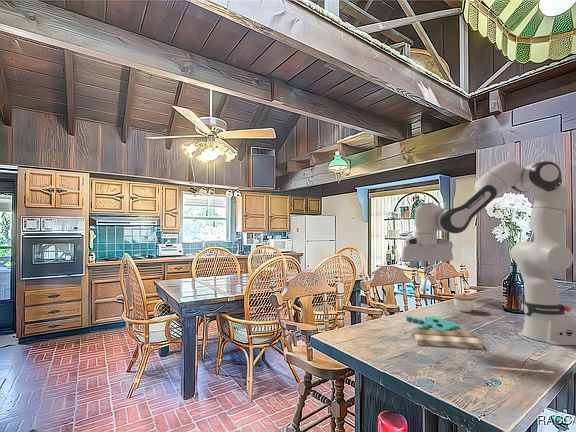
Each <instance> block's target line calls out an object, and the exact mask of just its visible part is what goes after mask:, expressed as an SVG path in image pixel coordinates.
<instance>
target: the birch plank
mask: <svg viewBox="0 0 576 432" xmlns="http://www.w3.org/2000/svg"><path fill="white" fill-rule="evenodd" d="M414 339H415V340H414V342H415V341H416V343H417V345H418V346H419V345H420V346H430V345H433V347H447V346H448V347H449V348H451V347H452V348H460V347H464V348H463V349H475V348H479V350H484V349H483V348H484V346H483V342H482V341H481V340H480V339H479V338H478V337H476V338H469V337H452V336H435V335H418V334H415V338H414Z"/></svg>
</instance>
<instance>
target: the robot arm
mask: <svg viewBox="0 0 576 432" xmlns="http://www.w3.org/2000/svg"><path fill="white" fill-rule="evenodd" d="M562 182H563V180H562V171H561V168H560V167H559V165H558V164H557V163H555V162H553V161H539V162H535V163H531V164H529V165H526V166H524V167H523V166H520V164H518V163H517V162H516V161H513V160H504V161H502V162H500V163H499V164H496V165H495V166H493V167H492V168H491V169H489V170H488V171H486V172H485V173H484V174H483V175H481V176H480V177H479V178H478V179H477V181H475V182H474V184H473V190H474V191H473V192H474V193H473V194H472V196H471V197H469V198H468V199H467V200H465V202H463V203H462V204H461V205H459V206H457V207H454V208H450V209H447V208H443V207H441V206H438V205H437V204H435V203H434V202H426V203H422V204H419V205H417V206H416V207H415V210H414V225H415V231H414V236H411V237H408V238H406V239H404V244H405V245H403V247H402V256H401V257H402V260H403V261H404V262H420V264H421V266H422V267H423V272H424V273H425V272H428V273H429V272H430V273H432V268H433V266H434V264H435V262H452V261H453V259H454V257H453V256H454V254H453V251H452V249H453V248H454V246H453V242H452V240H449V239H438V231H440V232H445V233H451V234H460V233H462V232H464V231H466V230H467V228H468V227H469V225H470V223H471V221H472V220H473V219H474V217H475V216H477V214H478V213H480V212H481V211H482V210H483V209H484V208H485V207H487V205H488V204H490V203H491V202H493V201H494V200H496V199H498V198H499V197H500V196H501V195H503V194H504V193H506V192H507V191H508V190H509V189H510V188H511V189H512V190H513V191H515V192H518V193H530V192H532V194H533V197H534V198H533V199H534V201H533V205H532V208H531V213H530V218H529V222H528V228H530V230H531V231H532V233H533V241H522V242H519V243H516V244H514V245H513V246H512V247H511V249H510V257H511V259H512V260H513V261H514V263H516V266H517V267H518V269H519V273H520V275H521V278H522V281H523V289H524V290H523V291H524V300H523V312H524V324H523V328H522V331H521V334H522V336H524V337H526V338H528V339H531V340H536V341H538V342H544V343H546V344H551V345H554V346H576V319H574V318H572V317H571V315H569V314H567V313H566V312H568V313H570V312H571V311H572V308H571V307H570V306H568V305H563V304H562V303H560V296H559V293H560V292H559V284H558V282H557V281H555V279H554V278H553V277H552V275H551V273H550V272H554V271H555V272H556V271H565V270H567V269H568V268H569V267H571V266H572V265H573V261H574V256H573V253H572V251H571V250H570V248H568V246H567V245H566V242H565V238H564V228H565V220H566V216H567V211H568V210H567V209H568V205H569V204H568V201H569V197H568V196H569V195H568V190H567V188H566V187H565V186H563V185H561V184H562ZM426 262H429V266H425V264H426Z"/></svg>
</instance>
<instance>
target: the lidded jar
mask: <svg viewBox="0 0 576 432" xmlns="http://www.w3.org/2000/svg"><path fill="white" fill-rule="evenodd" d="M452 296H453V303H454V306H455V307H456V309H457V310H458V311H459V312H462V313H464V312H465V313H471V312H472V311H473V310H474V309H475V308H476V302H477V297H476V296H475V295H471V294H466V293H465V292H463V293H462V294H461V293H458V294H453V295H452Z"/></svg>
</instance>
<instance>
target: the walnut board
mask: <svg viewBox="0 0 576 432" xmlns="http://www.w3.org/2000/svg"><path fill="white" fill-rule="evenodd" d="M411 330H412V333H413V336H414V337H413V336H412V337H413V338H414V339H415V334H418V335H435V336H452V337H469V338H477V336H476V335H475V334H474V332H472V331H456V330H451V331H441V330H433V329H424V330H423V329H413V328H412V329H411Z"/></svg>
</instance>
